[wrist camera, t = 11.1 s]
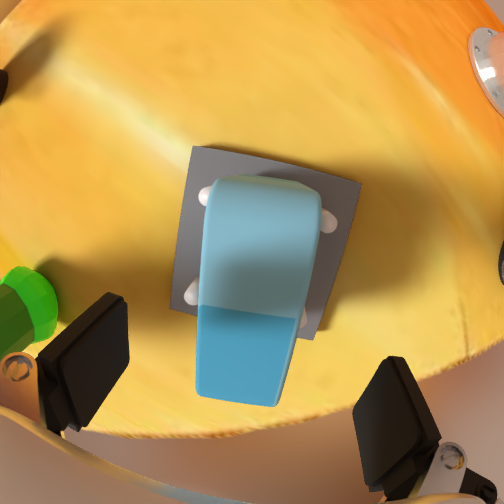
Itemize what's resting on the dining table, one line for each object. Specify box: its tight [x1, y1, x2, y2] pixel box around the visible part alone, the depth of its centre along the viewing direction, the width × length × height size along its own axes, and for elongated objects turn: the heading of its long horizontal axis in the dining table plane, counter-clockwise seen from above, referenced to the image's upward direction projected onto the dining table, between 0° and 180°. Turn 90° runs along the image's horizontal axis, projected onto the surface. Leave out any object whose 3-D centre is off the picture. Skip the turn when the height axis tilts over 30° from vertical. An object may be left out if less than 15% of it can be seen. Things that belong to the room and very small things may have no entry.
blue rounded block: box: [196, 174, 322, 407], centre depth 18 cm, size 12×4×12 cm, turn 173°
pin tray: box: [170, 146, 362, 340], centre depth 23 cm, size 14×15×4 cm
